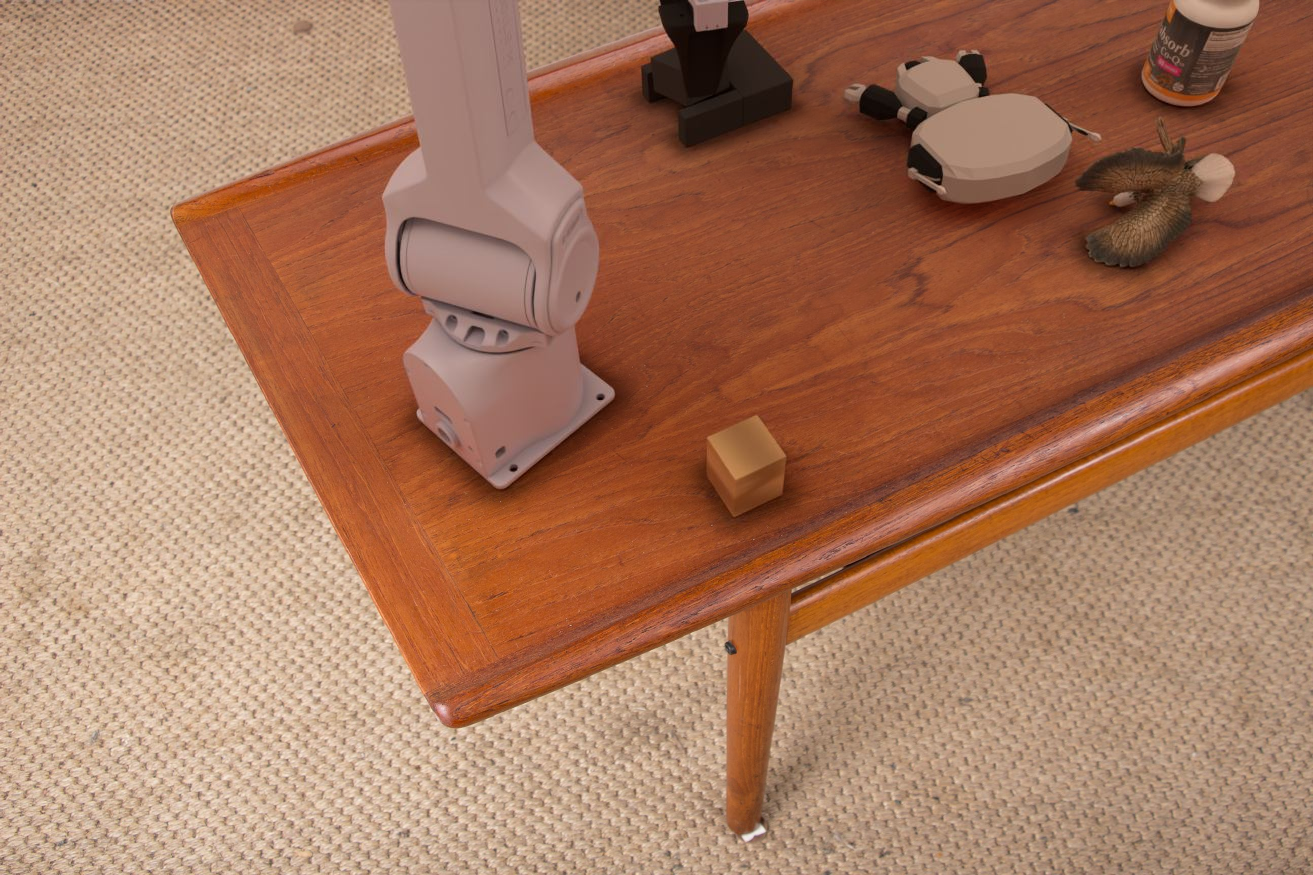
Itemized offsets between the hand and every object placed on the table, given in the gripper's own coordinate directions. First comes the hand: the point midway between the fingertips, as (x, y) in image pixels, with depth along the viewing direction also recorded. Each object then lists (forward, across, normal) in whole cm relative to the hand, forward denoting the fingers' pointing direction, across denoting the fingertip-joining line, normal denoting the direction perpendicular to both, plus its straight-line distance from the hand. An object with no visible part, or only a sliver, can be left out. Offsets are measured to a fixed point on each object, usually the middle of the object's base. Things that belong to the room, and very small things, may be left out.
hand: (691, 60), depth 77 cm
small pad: (+2, 0, 0) cm, 2 cm away
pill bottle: (+5, -5, -36) cm, 37 cm away
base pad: (+4, +1, -2) cm, 5 cm away
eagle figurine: (+5, -18, -27) cm, 33 cm away
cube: (+4, -33, +3) cm, 34 cm away
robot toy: (+5, -8, -18) cm, 20 cm away
